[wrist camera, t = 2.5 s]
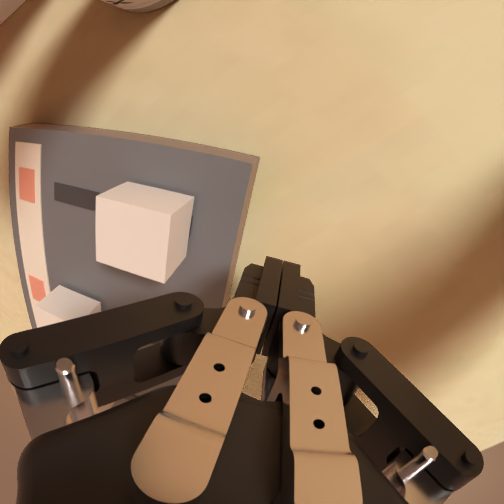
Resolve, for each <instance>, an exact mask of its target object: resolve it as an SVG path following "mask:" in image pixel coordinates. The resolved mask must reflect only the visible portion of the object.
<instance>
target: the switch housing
mask: <svg viewBox="0 0 504 504" xmlns="http://www.w3.org/2000/svg"><path fill="white" fill-rule="evenodd" d="M259 159H260V157H257V156H253V155H248V154H244V153H240V152H235V151H231V150H226V149H221V148H216V147H212V146H207V145H202V144H196V143H191V142H186V141H180V140H175V139H169V138H163V137H157V136H150V135H144V134H137V133H130V132H123V131H115V130H107V129H99V128H90V127H80V126H69V125H57V124H43V123H29V124H24V125H19V126H14V127H10V131H9V188H10V205H11V217H12V226H13V235H14V243H15V250H16V256H17V262H18V268H19V273H20V279H21V284H22V288H23V293H24V297H25V302H26V306H27V310H28V314H29V318H30V322H31V325H32V329H34V328H38V327H40V324H39V320H38V316H37V312H36V307H35V305H37V304H38V303H39V302H40V301H41V300H42V299H43V298H44V297H46V296H47V295H48V294H49V293H50V292H51V291H53V290H54V289H55V288H56V287H57V286H59V285H61V286H63V287H65V288H68V289H70V290H72V291H75V292H77V293H79V294H82V295H84V296H87V297H89V298H92V299H94V300H97V301H99V302H101V311H105V310H109V309H113V308H117V307H121V306H124V305H128V304H132V303H136V302H139V301H143V300H147V299H151V298H154V297H158V296H162V295H166V294H169V293H173V292H187V293H191V294H193V295H195V296H197V297H199V298H200V299H201V300H202V302H203V304H204V308H223V307H226V306H227V304H228V300H229V295H230V290H231V286H232V281H233V276H234V272H235V267H236V263H237V258H238V253H239V249H240V244H241V240H242V235H243V230H244V226H245V221H246V217H247V212H248V208H249V203H250V199H251V194H252V190H253V185H254V181H255V177H256V172H257V168H258V163H259ZM127 181H128V182H133V183H137V184H142V185H146V186H151V187H155V188H160V189H164V190H168V191H173V192H177V193H181V194H185V195H190V196H194V203H193V210H192V217H191V224H190V231H189V238H188V245H187V253H186V257H185V259H184V260H183V261H182V262H181V264H180V265H179V266H178V267H177V269H176V270H175V271H174V272H173V274H172V275H171V276H170V277H169V279H168V280H167V281H166V282H165V284H164V283H161V282H158V281H155V280H152V279H148V278H145V277H142V276H139V275H136V274H133V273H130V272H127V271H124V270H121V269H118V268H115V267H112V266H109V265H107V264H104V263H101V262H98V261H96V234H95V218H96V196H97V195H99V194H101V193H103V192H106V191H108V190H110V189H112V188H114V187H116V186H118V185H121V184H123V183H125V182H127ZM158 343H161V340H160V341H157V342H154V343H151V344H148V345H145V346H143V347H141V348H139V349H138V350H140V349H143V348H146V347H149V346H152V345H155V344H158ZM182 376H183V375H181V376H179V377H176V378H174V379H171V380H169V381H167V382H164V383H162V384H159V385H157V386H154V387H152V388H149V389H147V390H144V391H142V392H139V393H136V394H134V395H131V396H129V397H126V398H123V399H121V400H118V401H115V402H114V404H113V406H112V407H115V406H117V405H120V404H122V403H124V402H127V401H129V400H131V399H134V398H136V397H139V396H141V395H143V394H145V393H148V392H150V391H152V390H155V389H157V388H161V387H164V386H170V385H178V383H179V381H180V379H181V378H182ZM112 407H111V408H112Z"/></svg>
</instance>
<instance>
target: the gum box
mask: <svg viewBox="0 0 504 504" xmlns="http://www.w3.org/2000/svg"><path fill="white" fill-rule="evenodd" d="M25 1H26V0H0V25H1V24H2V23H3V22H4V21H5V20H6V19H7V18H8V17H9V16H10V15H11V14H12V13H14V12H15V11H16V10H17V9H18V8H19V7H20V6H21V5H22V4H23V3H24V2H25Z"/></svg>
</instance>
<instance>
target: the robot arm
mask: <svg viewBox="0 0 504 504" xmlns="http://www.w3.org/2000/svg"><path fill="white" fill-rule="evenodd" d="M282 262H283V260H280V259H276V258H272V257H269V256H266V260H265V263H264V267H263V266H259V265H255V264H250V265H249V266H247V267H245V269H244V272H243V274H242V277H241V280H240V282H239V285H238V288H237V291H236V293H235V296H234V299H232V300H230V301H229V302H228V304H227V306H226V307H223V308H204V304H203V302H202V300H201V299H200V298H199V297H197V296H195V295H193V294H191V293H187V292H173V293H169V294H166V295H162V296H158V297H154V298H151V299H147V300H143V301H139V302H136V303H132V304H128V305H124V306H121V307H117V308H113V309H109V310H105V311H101V312H98V313H94V314H90V315H86V316H82V317H78V318H74V319H70V320H66V321H62V322H58V323H55V324H51V325H47V326H43V327H38V328H34V329H30V330H26V331H22V332H18V333H14V334H12V335H10V336H8V337H6V338H5V339H4V340H3V341H2V343H1V344H0V360H1V362H2V365H3V367H4V369H5V372H6V375H7V378H8V381H9V382H10V385H11V387H12V389H13V391H14V393H15V395H16V397H17V399H18V401H19V404H20V407H21V410H22V413H23V416H24V419H25V422H26V425H27V428H28V431H29V434H30V436H31V439H32V441H31V442H30V443H29V444H28V445H27V446H26V447H25V449H24V450H23V452H22V454H21V456H20V459H19V462H18V468H17V480H18V481H17V482H18V489H17V490H18V491H17V502H16V504H443V503H444V502H445V501H446V499H447V498H448V497H449V496H450V495H451V494H452V493H454V492H455V491H457V490H458V489H460V488H461V487H462V486H464V485H465V484H467V483H468V482H470V481H471V480H472V479H474V478H475V477H477V476H478V475H479V474H480V473H481V471H482V469H483V465H484V462H483V457H482V454H481V452H480V451H479V449H478V448H477V447H476V446H475V445H474V444H473V443H472V442H471V441H470V440H469V439H468V438H467V437H466V436H465V435H464V434H463V433H462V432H461V431H460V430H459V429H458V428H457V427H456V426H455V425H454V424H453V423H452V422H451V421H450V420H449V419H448V418H447V417H446V416H445V415H444V414H442V413H441V412H440V411H439V410H438V409H437V408H436V407H435V406H434V405H433V404H432V403H431V402H430V401H429V400H428V399H427V398H426V397H425V396H424V395H423V394H422V393H421V392H420V391H419V390H418V389H417V388H416V387H415V386H414V385H413V384H412V383H411V382H410V381H409V380H408V379H406V378H405V377H404V376H403V375H402V374H401V373H400V372H399V371H398V370H397V369H396V368H395V367H394V366H393V365H392V364H391V363H390V362H389V361H388V360H387V359H386V358H385V357H384V356H383V355H382V354H380V353H379V352H378V351H377V350H376V349H375V348H374V347H373V346H372V345H371V344H370V343H368V342H367V341H365V340H363V339H360V338H357V337H348V338H345V339H344V340H343V341H342V343H341V344H340V343H338V342H336V341H334V340H332V339H330V338H328V337H326V336H325V335H324V334H322V329H321V325H320V323H319V322H318V320H317V319H315V301H314V300H315V297H314V286H313V284H312V283H311V281H310V280H309V279H307V278H304V277H300V265H298V264H295V263H291V262H287V261H284V262H283V264H282ZM160 340H161V343H158V344H155V345H152V346H149V347H146V348H143V349H140V350H138V349H139V348H141V347H143V346H145V345H148V344H151V343H154V342H157V341H160ZM262 346H263V349H262ZM261 349H262V355H264V356H268V359H267V363H266V365H265V368H264V371H263V382H262V396H261V401H260V400H257V399H255V398H252V397H250V396H248V395H246V394H244V393H242V389H243V386H244V383H245V380H246V377H247V374H248V371H249V368H250V365H251V364H252V363H253V361H254V359H255V356H256V354H260V352H261ZM181 375H183V376H182V378H181V379H180V381H179V383H178V385H170V386H164V387H161V388H157V389H155V390H152V391H150V392H148V393H145V394H143V395H141V396H139V397H136V398H134V399H131V400H129V401H127V402H124V403H122V404H120V405H117V406H115V407H112V408H110V409H107V410H105V411H102V412H100V413H97V412H98V407H101V406H104V405H107V404H110V403H112V402H115V401H118V400H121V399H123V398H126V397H129V396H131V395H134V394H136V393H139V392H142V391H144V390H147V389H149V388H152V387H154V386H157V385H159V384H162V383H164V382H167V381H169V380H171V379H174V378H176V377H179V376H181ZM358 388H360V389H361V390H362V391H363V392H364V393H365V394H366V395H367V396H368V397H369V398H370V399H371V400H372V402H373V403H374V404H375V405H376V406H377V408H378V411H379V415H378V418H376V417H375V416H374V415H373V414H372V413H371V412H370V411H369V410H368V409H367V408H366V407H365V405H364V404H363V403H362V402H361V401H360V400H359V399H358V398H357V397H356V396H355V395H354V394H355V392H356V391H357V389H358Z"/></svg>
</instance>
